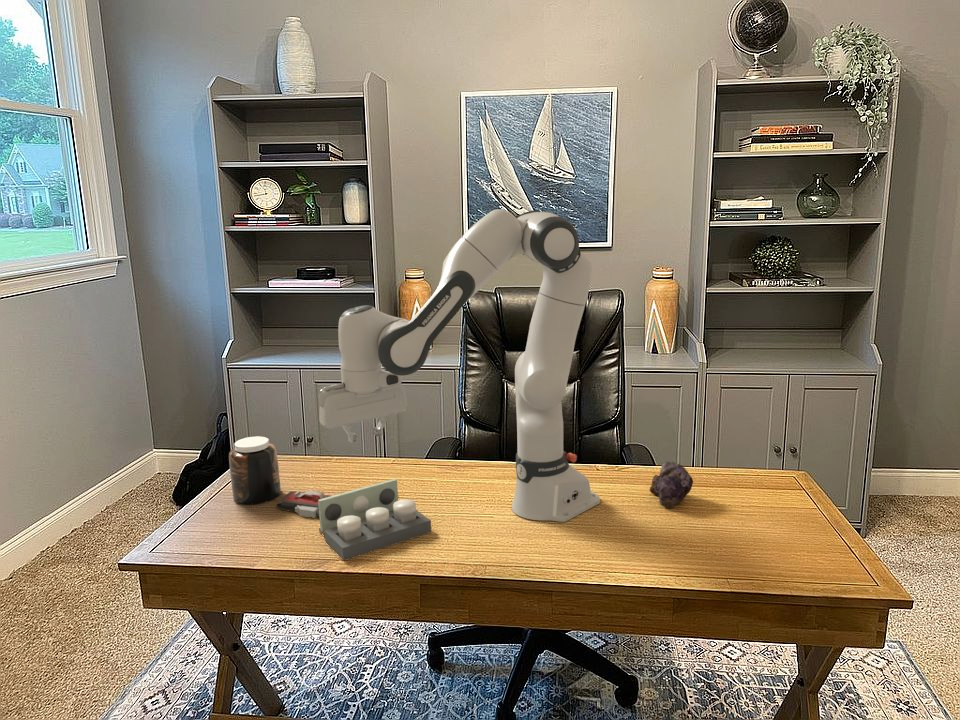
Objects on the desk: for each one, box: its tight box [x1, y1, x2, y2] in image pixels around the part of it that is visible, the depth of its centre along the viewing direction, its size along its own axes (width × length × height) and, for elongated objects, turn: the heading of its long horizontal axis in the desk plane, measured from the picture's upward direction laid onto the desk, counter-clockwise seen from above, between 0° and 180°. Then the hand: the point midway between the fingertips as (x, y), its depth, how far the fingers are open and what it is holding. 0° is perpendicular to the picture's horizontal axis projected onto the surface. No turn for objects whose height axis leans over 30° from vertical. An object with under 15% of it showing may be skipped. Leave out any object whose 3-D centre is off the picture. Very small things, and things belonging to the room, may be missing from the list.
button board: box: [324, 509, 432, 561], centre depth 173 cm, size 22×10×3 cm, turn 124°
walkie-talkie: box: [275, 490, 332, 519], centre depth 188 cm, size 9×4×20 cm
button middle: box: [366, 507, 389, 533], centre depth 172 cm, size 5×5×4 cm
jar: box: [228, 435, 282, 506], centre depth 196 cm, size 12×12×15 cm
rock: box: [649, 460, 694, 509], centre depth 188 cm, size 12×9×10 cm
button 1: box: [337, 515, 361, 542], centre depth 169 cm, size 5×5×4 cm
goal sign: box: [318, 478, 399, 537], centre depth 180 cm, size 20×3×8 cm, turn 124°
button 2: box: [393, 499, 417, 524], centre depth 176 cm, size 5×5×4 cm
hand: (365, 438), depth 170 cm, fingers open, 5 cm apart
